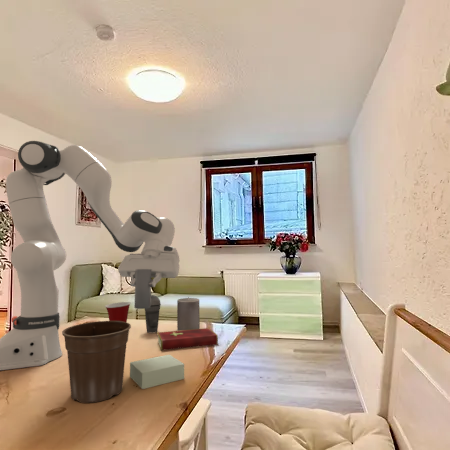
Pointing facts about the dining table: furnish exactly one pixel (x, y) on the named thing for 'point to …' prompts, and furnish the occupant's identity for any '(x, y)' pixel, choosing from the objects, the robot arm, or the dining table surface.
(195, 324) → the pillar candle
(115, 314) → the plastic cup
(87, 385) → the plant pot
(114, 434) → the dining table surface
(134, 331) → the dining table surface
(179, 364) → the block
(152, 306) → the beverage cup
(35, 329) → the robot arm
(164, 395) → the dining table surface
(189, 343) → the hardcover book
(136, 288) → the slate jar
